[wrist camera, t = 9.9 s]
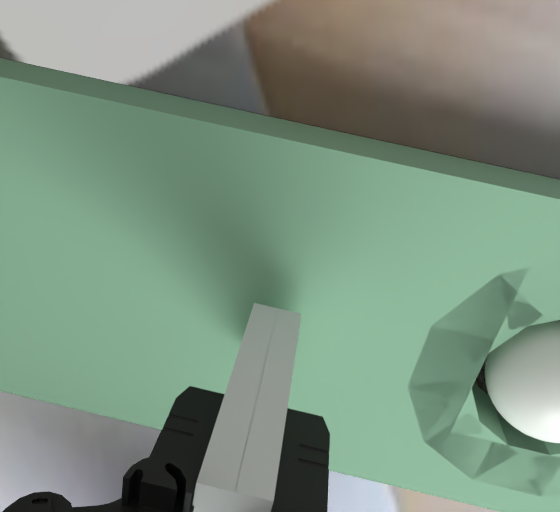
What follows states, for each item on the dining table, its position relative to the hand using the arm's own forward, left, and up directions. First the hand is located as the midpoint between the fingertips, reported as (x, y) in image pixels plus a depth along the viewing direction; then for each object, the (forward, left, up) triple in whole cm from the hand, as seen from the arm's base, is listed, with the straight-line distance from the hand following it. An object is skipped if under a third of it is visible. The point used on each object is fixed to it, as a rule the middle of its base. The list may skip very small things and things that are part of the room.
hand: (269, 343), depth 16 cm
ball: (+9, 0, -1) cm, 9 cm away
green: (+1, 0, -3) cm, 3 cm away
